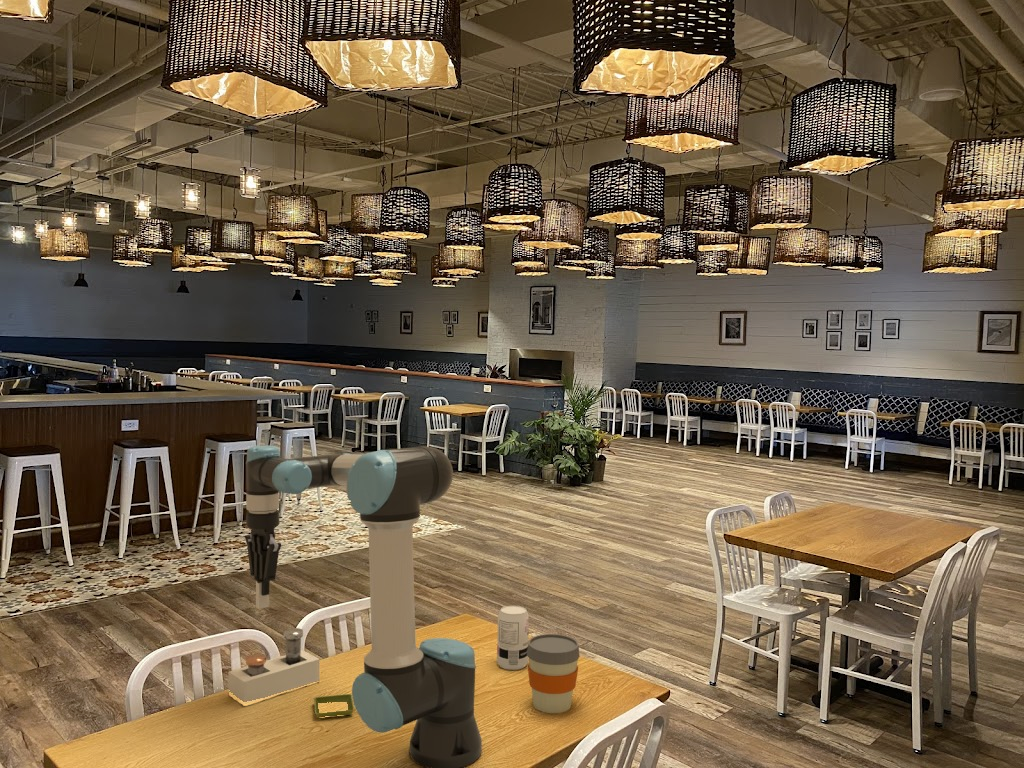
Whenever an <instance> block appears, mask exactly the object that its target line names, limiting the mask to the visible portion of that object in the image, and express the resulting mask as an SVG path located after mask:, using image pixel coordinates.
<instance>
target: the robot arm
mask: <svg viewBox="0 0 1024 768" xmlns="http://www.w3.org/2000/svg"><path fill="white" fill-rule="evenodd" d="M245 465H246V475H245V476H246V494H245V495H246V496H245V497H246V498H245V499H246V506H245V507H246V510H247V512H246V517H245V518H246V522H245V523H246V524H245V525H246V527H247V528H248V529H250V534H247V535H245V537H244V539H245V542H246V547H247V548H246V549H247V555H248V566H249V573H250V576H251V577H253V579H254V581H255V608H256V609H257V610H262V609H266V608H269V607H270V581H273V580H276V574H277V568H278V561H279V554H280V553H279V552H280V549H281V548H282V544H281V542H280V541H279V542H277V541H276V534H275V528H277V527H279V525H280V511H279V508H280V497H281V496H280V492H281V493H284V494H286V495H298V494H299V495H300V494H302V493H303V492H305V491H306V490H310V489H316V488H323V487H335V486H336V487H346V495H347V499H348V501H350V504H349V505H350V506H351V508H352V509H353V510H354V511H355V512H357V514H359V515H360V516H359V521H360V522H361V523H362V524H363V525H364V526H365V527H367V530H368V559H369V560H368V562H369V564H368V565H369V566H368V567H369V594H370V595H369V599H370V601H369V602H370V603H369V604H370V605H369V606H370V631H371V632H370V635H371V636H370V637H371V639H370V640H371V649H370V650H369V651H368V652H367V653H366V655H365V656H364V658H363V671H364V672H362V673H360V674H358V675H357V676H356V677H355V679H354V681H353V683H352V686H351V695H352V700H353V706H354V709H355V710H356V712H357V714H358V716H359V717H360V719H361V720H362V722H363V723H364V724H365V725H366V726H367V727H368V728H369V729H370V730H372V731H373V732H376V733H380V734H381V733H387V732H390V731H393V730H399V729H401V728H402V727H403V726H406V725H408V724H410V723H412V722H415V721H416V722H415V725H414V727H413V730H412V734H411V737H410V738H409V739H410V741H409V755H410V758H411V759H412V761H414V762H415V763H416V764H418V765H420V766H422V767H424V768H464V767H467V766H469V765H471V764H473V763H474V762H475V761H477V760H478V759H479V758H480V757H481V754H482V748H483V745H482V744H483V743H482V741H483V740H482V735H481V733H480V730H479V727H478V723H477V720H476V717H475V689H476V688H475V685H476V667H477V666H476V661H475V660H476V657H475V650H474V648H473V647H472V646H471V645H469V644H468V643H466V642H465V641H460V640H457V639H454V638H446V637H445V638H444V637H443V638H442V637H437V638H436V637H434V638H428V639H425V640H422V641H421V642H420V644H419V646H417V644H416V617H415V616H416V612H415V611H416V610H415V608H416V607H415V580H414V578H415V577H414V575H415V574H414V571H415V570H414V540H413V539H414V537H413V534H414V533H413V527H414V525H415V524H416V523H417V521H418V520H419V519H420V518H421V517H420V516H421V512H420V511H421V510H420V509H421V508H420V505H425V504H428V503H432V502H434V501H436V500H439V499H440V498H442V497H443V496H444V495H445V494H446V493H447V492H448V490H449V489H450V487H451V485H452V483H453V477H454V470H453V465H452V463H451V460H450V459H449V457H448V456H447V455H446V454H445V453H444V452H443V451H441V450H439V449H438V448H435V447H432V446H426V445H425V446H415V447H403V448H392V449H380V450H377V451H371V452H366V453H363V454H360V453H357V454H356V453H355V454H353V453H348V452H339V453H338V452H337V453H334V454H323V455H315V456H304V457H302V456H301V457H293V458H283V457H281V453H280V449H279V447H278V446H277V445H254V446H250V447H249V448H248V449H247V451H246V462H245Z"/></svg>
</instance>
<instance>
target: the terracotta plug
mask: <svg viewBox="0 0 1024 768" xmlns="http://www.w3.org/2000/svg"><path fill="white" fill-rule="evenodd" d="M266 661H267V656H266V655H265V654H262V653H257V654H256V653H254V654H249V655H248V656H247V657H246V658H245V665H246V666H248V675H249V676H251V677H253V676H256V675H259V674H263V673H264V664H265V663H266Z"/></svg>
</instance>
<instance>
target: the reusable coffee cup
mask: <svg viewBox="0 0 1024 768" xmlns="http://www.w3.org/2000/svg"><path fill="white" fill-rule="evenodd" d="M579 645H580V643H579V642H578V640H576V639H575V638H573V637H570V636H568V635H564V634H557V633H545V634H538V635H534V636H533V637H531V638H530V639H528V649H527V656H528V663H527V672H528V681H529V686H530V687H531V694H532V705H533V707H534V708H535V709H536V710H538V711H539V712H541V713H546V714H562V713H564V712H567V711H569V710H570V709H571V705H572V700H573V699H572V698H573V693H574V689H576V688H575V687H576V685H577V679H578V671H579V665H578V661H579V658H580V646H579Z"/></svg>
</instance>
